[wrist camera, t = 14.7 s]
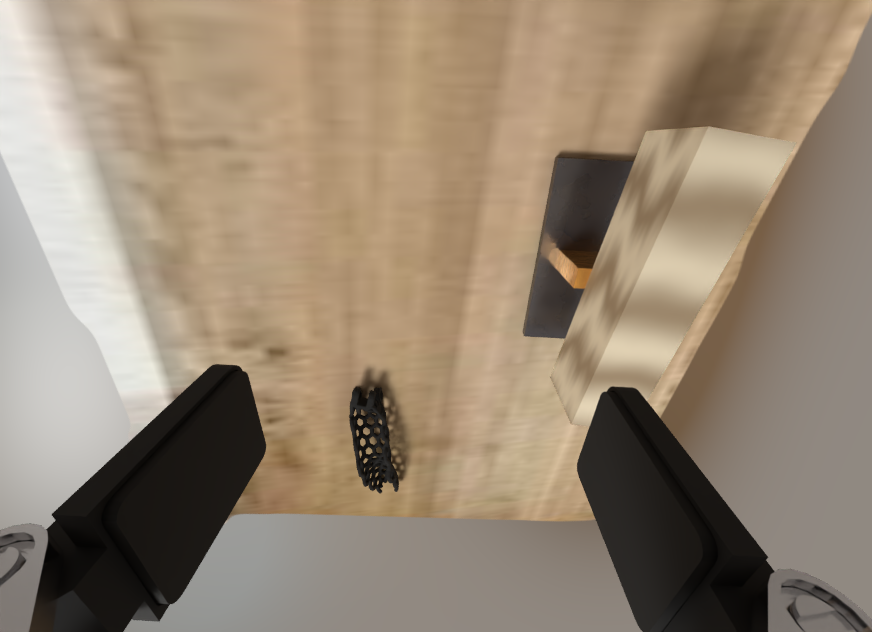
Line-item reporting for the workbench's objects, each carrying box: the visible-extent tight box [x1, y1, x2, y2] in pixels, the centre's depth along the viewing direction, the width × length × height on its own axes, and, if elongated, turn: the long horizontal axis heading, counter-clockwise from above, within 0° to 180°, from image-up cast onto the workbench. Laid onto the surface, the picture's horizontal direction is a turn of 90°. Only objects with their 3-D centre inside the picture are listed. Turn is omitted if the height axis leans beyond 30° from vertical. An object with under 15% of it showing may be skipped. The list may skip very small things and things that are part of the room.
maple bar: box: [550, 126, 796, 427], centre depth 28 cm, size 24×6×7 cm, turn 171°
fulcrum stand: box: [523, 158, 634, 338], centre depth 35 cm, size 20×12×7 cm, turn 177°
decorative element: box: [349, 387, 399, 493], centre depth 49 cm, size 22×5×6 cm, turn 6°
